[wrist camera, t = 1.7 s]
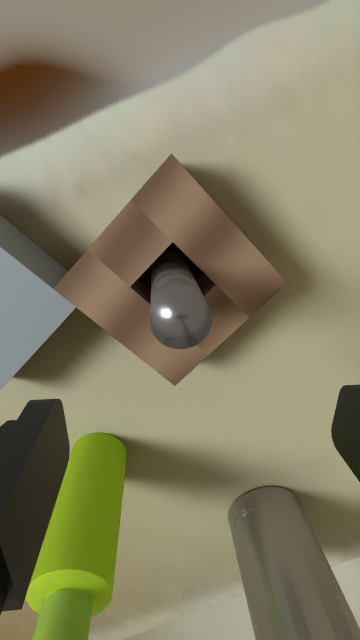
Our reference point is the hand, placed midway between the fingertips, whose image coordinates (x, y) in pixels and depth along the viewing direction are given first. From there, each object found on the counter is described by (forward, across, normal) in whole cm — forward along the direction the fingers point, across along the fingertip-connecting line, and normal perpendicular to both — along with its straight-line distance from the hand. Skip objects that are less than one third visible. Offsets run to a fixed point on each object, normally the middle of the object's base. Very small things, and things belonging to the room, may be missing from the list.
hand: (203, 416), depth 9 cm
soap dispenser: (+20, +8, +20) cm, 29 cm away
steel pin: (+20, 0, 0) cm, 20 cm away
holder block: (+20, 0, 0) cm, 20 cm away
